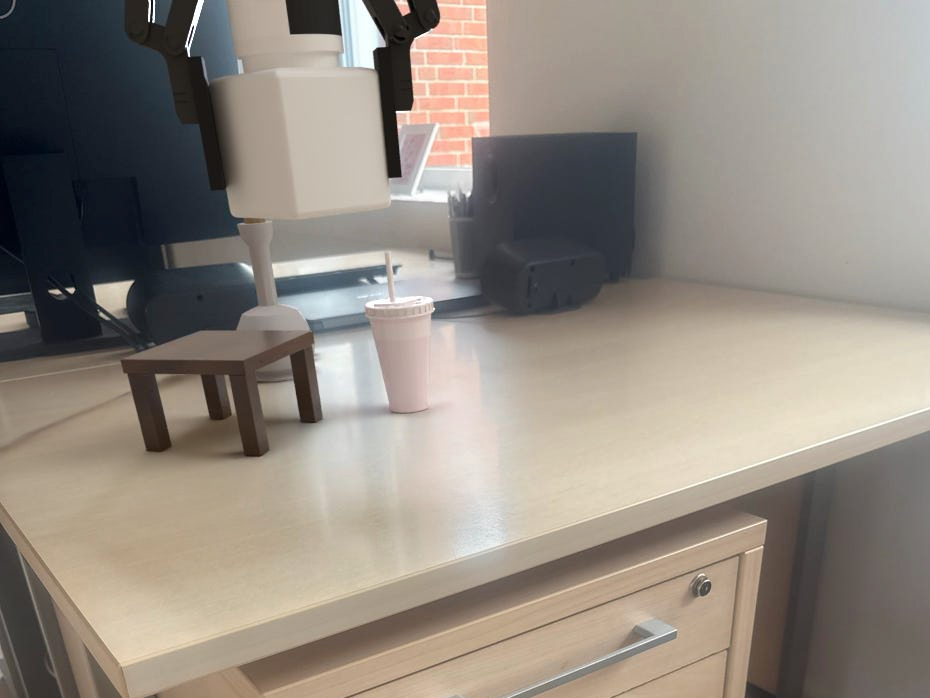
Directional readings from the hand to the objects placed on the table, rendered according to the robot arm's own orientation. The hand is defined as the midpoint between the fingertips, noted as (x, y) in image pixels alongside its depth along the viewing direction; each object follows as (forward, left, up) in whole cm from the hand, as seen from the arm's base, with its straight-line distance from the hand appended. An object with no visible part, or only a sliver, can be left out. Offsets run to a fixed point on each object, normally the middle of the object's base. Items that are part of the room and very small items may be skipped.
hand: (307, 183), depth 54 cm
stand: (-19, +16, -21) cm, 33 cm away
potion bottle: (-27, +38, -21) cm, 51 cm away
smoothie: (-6, +26, -21) cm, 34 cm away
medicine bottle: (0, 0, -2) cm, 2 cm away
